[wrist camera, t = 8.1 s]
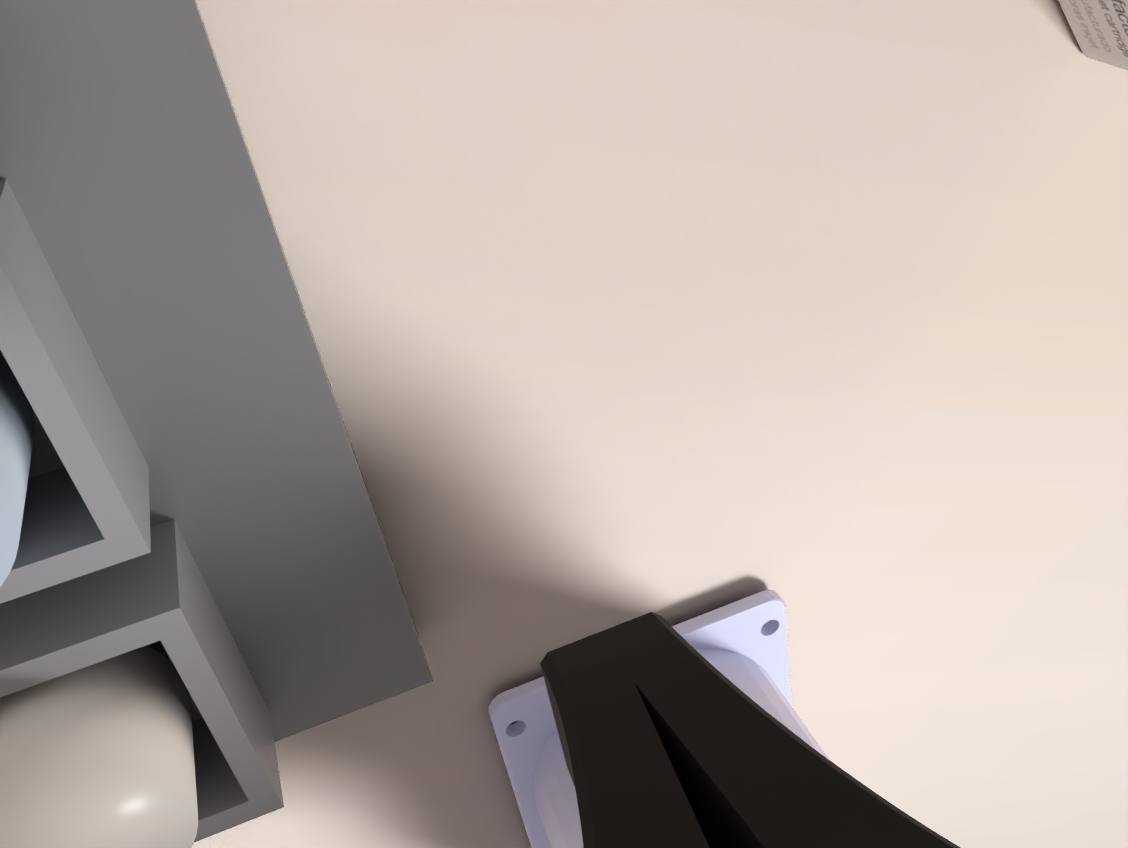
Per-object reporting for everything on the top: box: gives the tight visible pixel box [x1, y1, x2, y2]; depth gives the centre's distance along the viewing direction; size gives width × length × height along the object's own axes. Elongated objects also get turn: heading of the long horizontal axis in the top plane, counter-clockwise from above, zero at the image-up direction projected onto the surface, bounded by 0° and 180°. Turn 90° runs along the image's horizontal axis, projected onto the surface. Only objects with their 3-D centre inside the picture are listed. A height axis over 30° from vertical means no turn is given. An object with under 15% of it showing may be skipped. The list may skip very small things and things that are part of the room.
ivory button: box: [0, 646, 198, 848], centre depth 18 cm, size 4×4×3 cm
